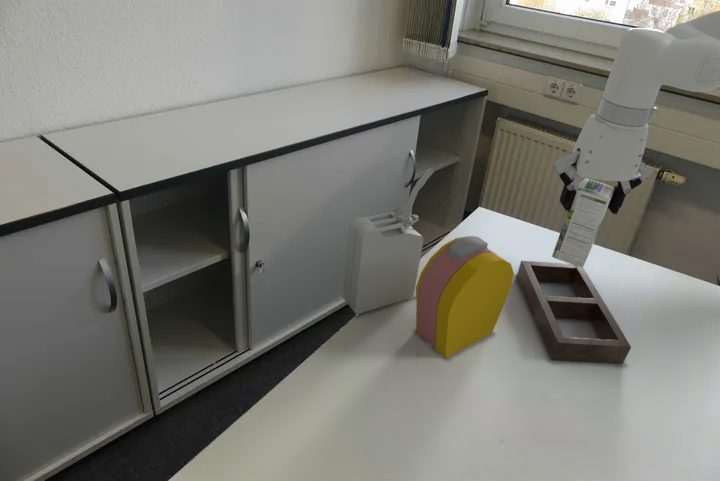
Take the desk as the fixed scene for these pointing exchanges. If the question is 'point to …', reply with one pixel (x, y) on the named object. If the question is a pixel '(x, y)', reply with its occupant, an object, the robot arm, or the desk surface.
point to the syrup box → (583, 222)
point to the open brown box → (571, 314)
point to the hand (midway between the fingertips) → (588, 208)
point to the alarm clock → (461, 294)
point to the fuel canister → (383, 257)
